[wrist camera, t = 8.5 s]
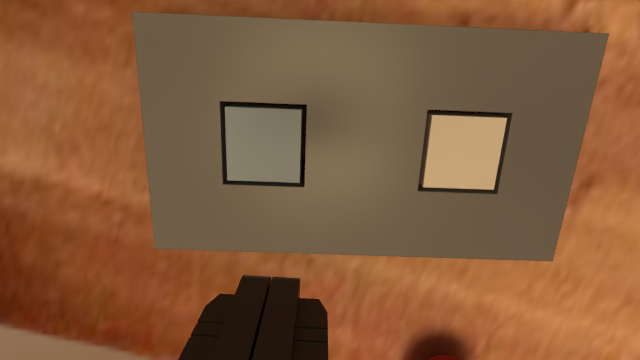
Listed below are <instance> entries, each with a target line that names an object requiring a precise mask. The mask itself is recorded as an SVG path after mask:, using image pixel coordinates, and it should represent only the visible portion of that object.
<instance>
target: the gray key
mask: <svg viewBox="0 0 640 360" xmlns="http://www.w3.org/2000/svg"><path fill="white" fill-rule="evenodd" d="M302 124H303V106H284V105H259V104H231V105H228V106H225V128H226V159H227V180H233V181H261V182H289V183H300V177H301V161H302Z"/></svg>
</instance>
